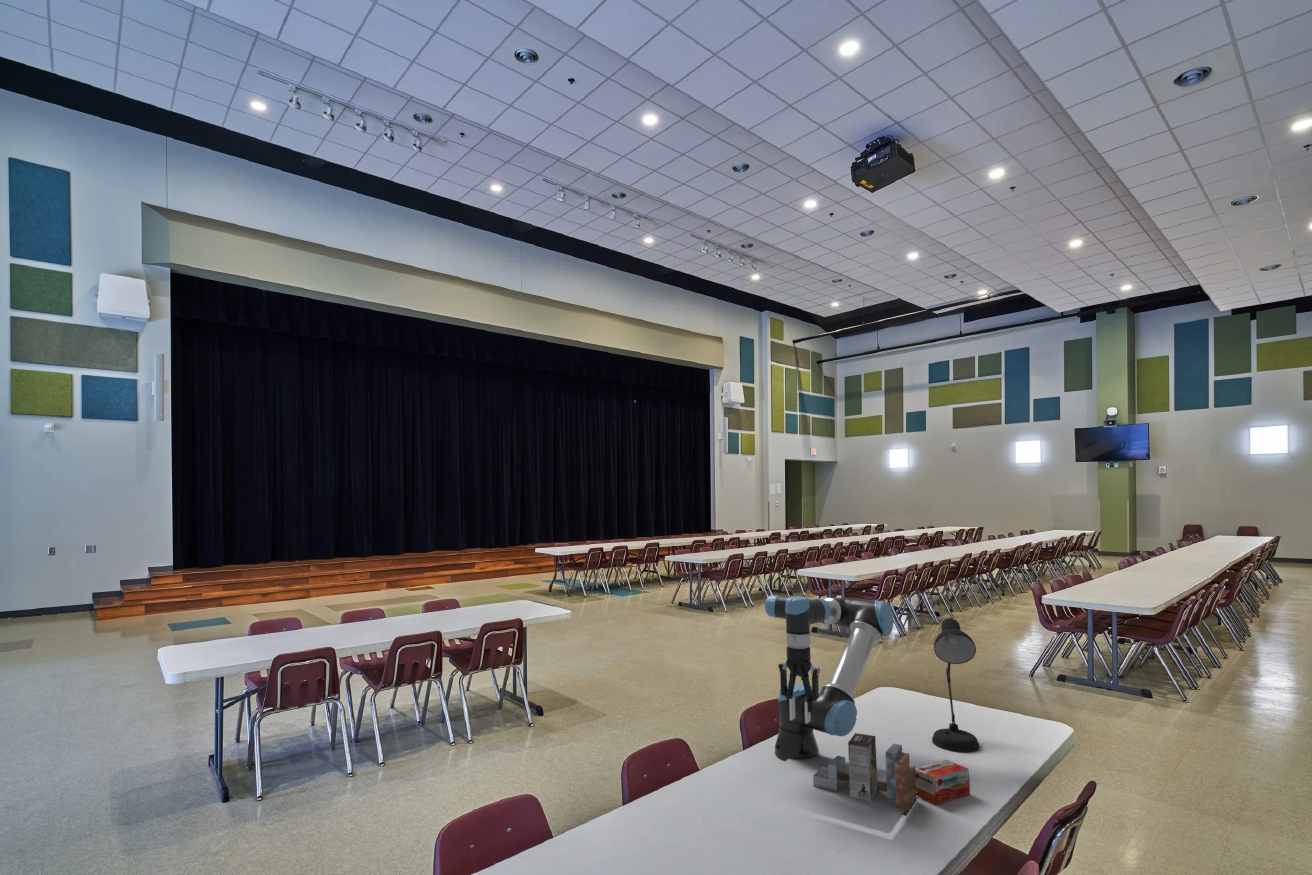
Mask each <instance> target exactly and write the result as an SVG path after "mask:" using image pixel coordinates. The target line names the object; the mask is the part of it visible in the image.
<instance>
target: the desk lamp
mask: <svg viewBox="0 0 1312 875" xmlns="http://www.w3.org/2000/svg"><path fill="white" fill-rule="evenodd" d="M940 626H941V632H940V633H939V634H937V636H936V637H935V639H934V642H933V651H934V654H935V655H936V657H937V658H938V659H939V660H940V661H942V662H945V663H947V667H946V669H945V671H946V673H945V674H946V680H947V684H948V686H947V687H948V693H949V701H950V702H949V703H950V712H951V723H949V724H948V727H947V728H940V729H937V730H936V731H934V733H933V736H932V737H931V741H932V744H933V745H934V746H936V747H938V748H940V749H943V750H947V751H949V752H956V753H973V752H976V751H978V750H979V749H980V743H979V741H978V739H977V738H978V737H976V735H974V734H973V733H971V732H968V731H966V730H963V729H959V725H958V724H957V723H956V719H955V718H956V717H955V710H954V706H953V705H954V704H953V695H952V688H951V687H952V686H951V665H959V664H960V665H961V664H965V663H968V662H970V661H971V660H972V659H973V658H974V657H975V656H976V653H977V647H976V645H975V642H974V640H973V639H972V637H971V636H970V635H969V634H967V633H966V632H964V631H963V630H961V626H960V623H959V622H958V620H956V619H954V618H951V617H950V618H946V619H944V620H943V621H942V623H941V625H940Z"/></svg>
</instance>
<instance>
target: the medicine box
mask: <svg viewBox="0 0 1312 875" xmlns="http://www.w3.org/2000/svg"><path fill="white" fill-rule="evenodd" d="M915 778H916V797H919V798H920V799H921V798H922V799H923V800H925V801H928V802H930V803H932V804H934V805H935V806H939V805H941V804H944V803H948V802H952V801H954V800H958V799H960V798H964V797H967V796H970V795H971V789H970V788H971V783H970V780H971V779H970V770H969V768H968V767H965V766H963V765H961V764H959V763H956V762H954V761H950V760H949V759H944V760H940V761H938V762H937V761H936V762H933V763H931V764H926V765H922V766H920V767H915Z"/></svg>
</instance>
